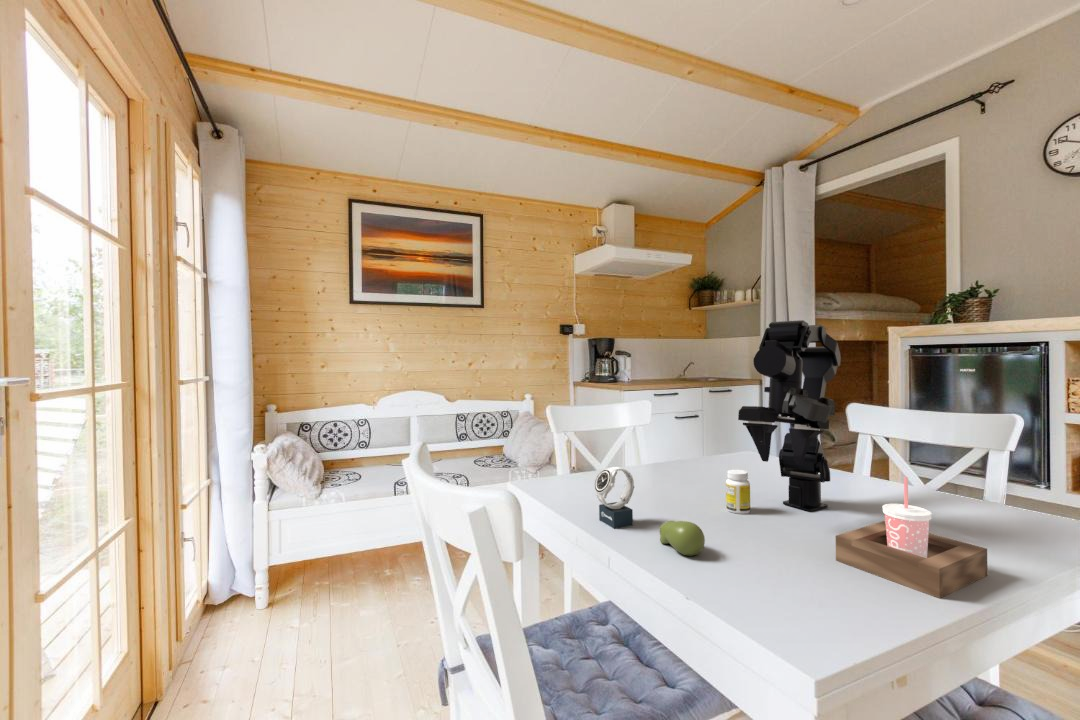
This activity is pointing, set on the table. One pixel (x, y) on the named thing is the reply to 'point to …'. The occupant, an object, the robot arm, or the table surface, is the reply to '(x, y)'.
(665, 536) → the pear
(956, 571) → the walnut box
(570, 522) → the table surface
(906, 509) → the beverage cup
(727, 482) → the supplement bottle
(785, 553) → the table surface
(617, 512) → the watch
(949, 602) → the table surface
